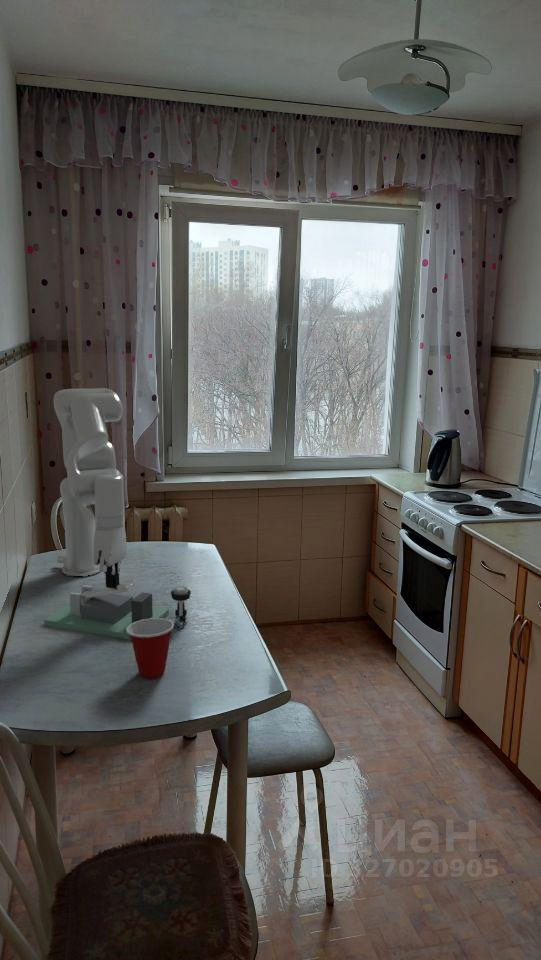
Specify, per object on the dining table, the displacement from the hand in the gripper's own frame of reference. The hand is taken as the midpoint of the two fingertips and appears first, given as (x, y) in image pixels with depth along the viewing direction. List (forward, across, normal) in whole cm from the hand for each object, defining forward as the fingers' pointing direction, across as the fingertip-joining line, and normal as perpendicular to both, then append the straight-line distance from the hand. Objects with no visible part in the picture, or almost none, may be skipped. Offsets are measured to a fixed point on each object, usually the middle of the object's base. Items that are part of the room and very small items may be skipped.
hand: (112, 587), depth 189 cm
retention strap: (+2, 0, -3) cm, 3 cm away
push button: (+10, -5, +18) cm, 21 cm away
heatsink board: (+10, -1, -2) cm, 10 cm away
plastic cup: (+11, +22, +23) cm, 34 cm away
